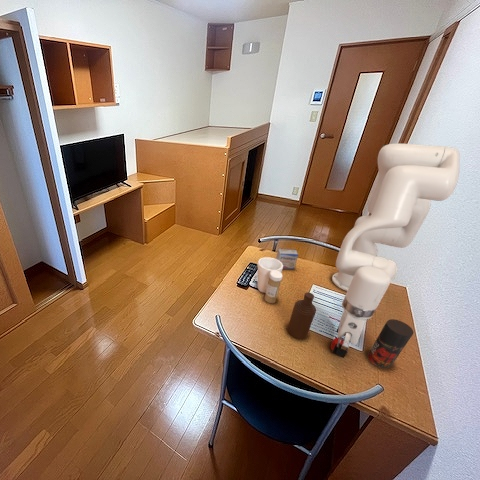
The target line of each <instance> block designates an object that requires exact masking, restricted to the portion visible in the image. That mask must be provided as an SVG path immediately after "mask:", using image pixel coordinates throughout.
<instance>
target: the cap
mask: <svg viewBox="0 0 480 480" xmlns="http://www.w3.org/2000/svg"><path fill="white" fill-rule="evenodd" d="M338 340H339V338H338V337H334V338H333V340H332V342H331V344H330V350H332V351H333V349H334V347H335V345H336V344H337V343H338ZM343 341H344V340H341V342H340V344H343Z"/></svg>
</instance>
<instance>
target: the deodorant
mask: <svg viewBox="0 0 480 480" xmlns="http://www.w3.org/2000/svg"><path fill="white" fill-rule="evenodd" d="M413 335H414V330H413V328H412V327H411V326H410V325H408V324H407V323H406V322H403V321H401V320H400V319H399V320H398V319H394V318H393V319H388V320H386V321H385V324H384V326H383V327H382V329H381V331H380V332H379V334H378V336H377V338H376V340H375V341H374V343H373V344H372V346H371V347H370V349H369V351H368V353H367V359H368V361H370V363H371V364H372V365H373V366H375V367H378V368H380V369H383V370H388V369H390V368H391V367H392V366H393V364H394V363H395V361H396V360H397V358H399V355H400V354H401V353H402V351H403V350H404V348H405V347H406V345H407V344H408V342H409V341H410V340H411V338H412V337H413Z"/></svg>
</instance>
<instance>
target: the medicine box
mask: <svg viewBox="0 0 480 480" xmlns="http://www.w3.org/2000/svg"><path fill="white" fill-rule="evenodd" d="M298 257H299V253H298V251H297V250H296V249H288V248H286V249H285V248H278V249H277V253H276V257H275V259H277V260H279V261H280V262H281V263H282V264H283V269H282V270H295V268H296V265H297V261H298Z"/></svg>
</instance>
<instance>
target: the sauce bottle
mask: <svg viewBox="0 0 480 480" xmlns="http://www.w3.org/2000/svg"><path fill="white" fill-rule="evenodd" d="M314 299H315V295H314V294H313V293H312V292H308V291H307V292H305V293H304V294H303V298H302V299H299V300H296V301H295V302H294V305H293V308H292V311H291V315H290V318H289V320H288V324H287V327H286V331H287V334H288V335H289V336H291V337H292V338H293V339H296V340H299V341H301V340H305V339H307V337H308V334H309V333H310V332H309V331H310V329H311V326H312V324H313V321H314V319H315V316H316V314H317V307H316V306H315V304H314V303H313V301H314Z"/></svg>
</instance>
